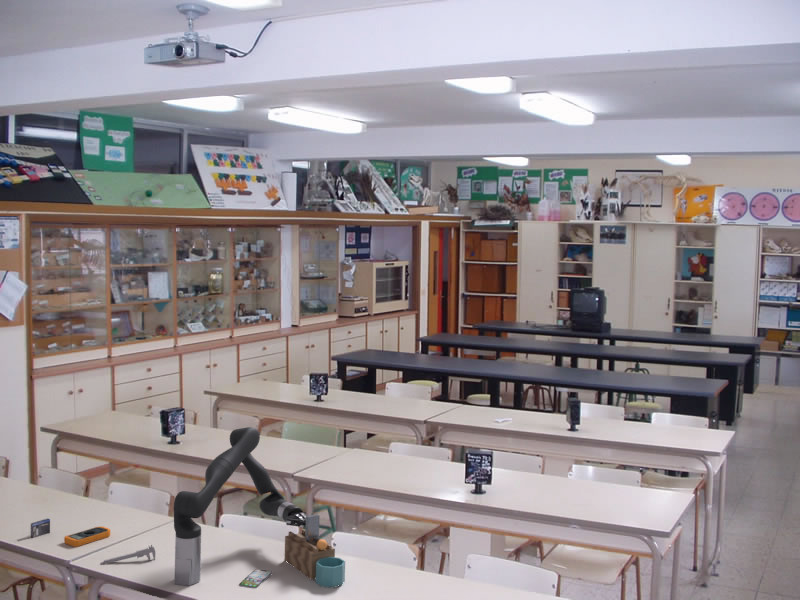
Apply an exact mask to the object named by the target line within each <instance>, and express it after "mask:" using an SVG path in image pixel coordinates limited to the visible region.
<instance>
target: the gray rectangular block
mask: <svg viewBox="0 0 800 600" xmlns="http://www.w3.org/2000/svg"><path fill="white" fill-rule="evenodd" d="M312 514H313V515H311V514H307V515H308V516H306V527H305V528H304V529H305V536H306V541H307V542H309V543H310V544H312V545H316V544H317V542H318V541H319V540H320V539H321V538H320V520H321V519H320V516H321V515H320V514H318V513H315V514H314V513H312Z"/></svg>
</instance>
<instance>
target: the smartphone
mask: <svg viewBox="0 0 800 600" xmlns="http://www.w3.org/2000/svg"><path fill="white" fill-rule="evenodd" d="M271 574H272V575H273V572H272V571H271V570H266V569H259V568H257V569H254V570H253V571H252V572H250V573H249V574H248V575H247V576H246V577H245V578H244V579H243V580H242V581H241V582H239V584H238V586H239V587H243V586H244V588H250V589H257V588H259V587H260V586H261V585H262V584H263V583H264V582H265V581H266V580H267V579H268V578H270V575H271ZM272 575H271V576H272ZM261 583H262V584H261ZM260 584H261V585H260Z"/></svg>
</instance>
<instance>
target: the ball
mask: <svg viewBox="0 0 800 600" xmlns="http://www.w3.org/2000/svg"><path fill="white" fill-rule="evenodd" d="M320 539H321V540H319V541H318V542H317V548H318V549H319V550H325V549H326V548H327V543H328V542H327V540H326V539H322V538H320Z"/></svg>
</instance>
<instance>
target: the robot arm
mask: <svg viewBox="0 0 800 600" xmlns="http://www.w3.org/2000/svg"><path fill="white" fill-rule="evenodd" d="M260 436H261V435H260V432H259V430H258V429H257V428H255V427H252V426H251V427H250V426H249V427H248V426H247V427H242V428H236V429H233V430H232V431H231V433H230V434H229V443H230V446H231V447H230V448H228V449H226V450H225V451H223V452H222V453H220V454H219V455H217V456H216V457H215V458H214V459H213V460H212V461H211V462H210V464H209V465H208V466H207V467H206V469H205V475H204V477H205V479H204V480H205V485H204V486H203V488H202V489H201V490H200V491H199V492H195V491H189V490H188V491H187V490H181V491H179V492H177V494H176V496H175V498H174V501H173V528H174V532H175V538H174V539H175V542H174V543H175V544H174V551H175V552H174V585H180V586H191V585H193V584H197V583H199V582H200V581H201V561H202V560H201V559H202V557H201V556H202V555H201V553H202V550H201V549H202V527H201V526H200V524H199V523H197V522H196V521H194V520H193V519H199V518H201V517H202V516H203V515H204V514H205V512H206V511H207V509H208V507H209V506H210V505H211V503H212V501H213V500H214V499H215V497H216V495H217V494H218V493H219V491H220V490H221V489H222V487H223V486H224V485H225V483H226V482H228V480H229V479H230V477H231V476H232V475H233V474H234V472H235V471H236V470H237V468H238V467H239V466H240V465H241V464H242V465H243V467H244V468H245V469H246V471H247V472H248V474H249V476H250V478H251V480H252V482H253V484H254V486H255V489H256V491H257V493H258V494H260V495H265V494H268V493H270V494H268V495H267V496H265V497H264V498H262V499H261V500H260V502H259V509H260V511H261V512H262V513H263V514H264V515H266V516H271V517H272V516H273V517H278V518H280V519H281V520H282V521H283V522H285V525H286V526H291V527H301V526H302V527H305V528H306V516H308V515H309V514H308V513H305V512H304V510H303V509H302V508H301V507H299V506H297V505H295V504H294V503H291V502H289V501H287V500H285V498H284V496H283V494H282V493H281V492H280V490H279V489H278V488H276V486H275V484H274V483H273V481H272V479H271V477H270V474H269V472H268V471H267V469H266V468H265V467H264V466H263V464H261V463H260V462H259V461H258V460H257V459H256V458H255V457H254V456H253V455H252V452H253V451H254V450H255V449H256V448H257V447H258V445H259V442H260V438H261V437H260ZM313 514H314V513H311V514H310V515H313Z"/></svg>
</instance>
